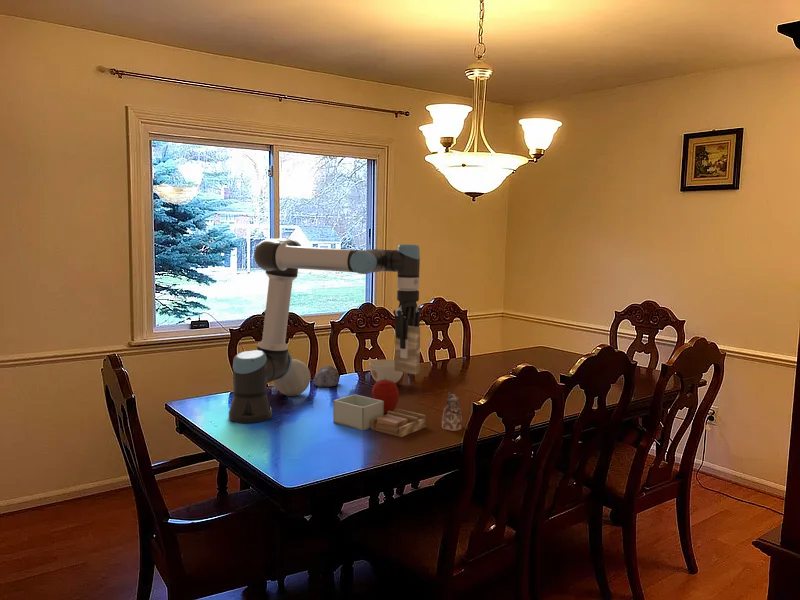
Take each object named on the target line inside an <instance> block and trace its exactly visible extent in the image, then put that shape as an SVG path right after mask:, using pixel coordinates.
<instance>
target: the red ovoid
mask: <svg viewBox="0 0 800 600" xmlns="http://www.w3.org/2000/svg"><path fill="white" fill-rule="evenodd" d="M371 398H373V399H377V400H381V401H384V415H387V411H392V412H395V409H396V408H397V406H398V404H399V401H400V400H399V399H400V390H399V387H398V386H397V384H396V383H394V382H393V381H390V380H386V377H385V380H380V381H377V382H376V381H375V383H374V384H373V386H372V390H371Z"/></svg>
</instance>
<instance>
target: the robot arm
mask: <svg viewBox="0 0 800 600" xmlns="http://www.w3.org/2000/svg"><path fill="white" fill-rule="evenodd" d="M420 250H421V249H420V246H419V245H418V244H406V243H405V244H404V243H403V244H398V246H397V249H381V248H380V249H377V248H371V249H364V250H363V249H350V248H349V249H348V248H344V249H343V248H330V247H313V246H312V247H311V246H302V244H301V243H300V242H298V241H297V240H295V239H292V238H285V237H284V238H267V239H264V240H261V241H260V242H259V243H258V244H257V245H256V247H255V249H254V252H253V257H254V262H255V263H256V264H257V266H258V267H259V269H261V270H264V271H265V275H266V276H267V277H268V285H267V286H268V287H267V294H266V301H265V302H266V303H265V304H266V305H265V311H264V321H263V330H262V336H261V338H262V340H260V341H259V342H258V343H257V348H256V350H255V349H253V350H252V349H251V350H247V351H242V352H239V353H237V354H236V355H235V356H234V357H233V361H232V362H233V363H232V373H233V374H232V376H233V377H232V379H233V380H232V383H233V397H232V401H231V403H230V404H231V405H230V409H229V411H228V419H229V420H230V421H231V422H235V423H239V424H240V423H241V424H252V423H253V424H255V423H260V422H265V421H267V420H269V419H271V418H272V416H273V410H272V407H271V403H270V401H269V398H268V395H267V393H268V392H267V391H268V390H267V389H268V388H267V386H268V385H267V384H268V383H269V384H270V383H271V382H274V380H278V379H280V378H282V377H283V376H285V375H286V374H287V373H288V372H289V371H290V369H291V366H292V359H293V358H292V355H291V353H290V351H289V346H288V344H287V343H286V340H287V329H288V320H289V314H290V305H291V297H292V290H293V289H292V288H293V281H294V280H296V278H298V272H299V269H300V270H314V271H328V272H329V271H330V272H344V273H346V272H347V273H355V274H358V275H369V274H372V273H379V272H380V273H381V272H390V273H391V272H392V273H393V272H394V273H395V272H396V273H397V275H396V276H397V280H396V281H397V282H396V283H397V285H396V289H398V290H397V291H396V300H397V302H399V305H398V307H397V309H393V312H392V313H393V316H394V332H395V331H396V338H398V339H400V348H401V353H400V357H401V358H406V359H407V358H408V339H407V330H408V326H414V327H420V325H421V324H420V322H421V314H422V313H421V312H422V311H423V310H422V309H423V307H420V306H418V303H417V302H418V301H420V291H419V289H420V267H421V253H420V252H421V251H420Z"/></svg>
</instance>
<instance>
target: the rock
mask: <svg viewBox="0 0 800 600" xmlns="http://www.w3.org/2000/svg"><path fill="white" fill-rule="evenodd" d="M312 381H313V383H314V386H317V387H319V388H324V387H326V388H327V387H328V388H329V387H335V386H337V385H338V384H339V382H340V375H339V372H338V369H337V368H334V367H333V366H331V365H328V366H324V367H321V368H320V369H319V370H317V372H315V375H314V377H313V379H312Z"/></svg>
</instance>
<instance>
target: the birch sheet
mask: <svg viewBox="0 0 800 600" xmlns="http://www.w3.org/2000/svg"><path fill="white" fill-rule="evenodd" d="M407 339H408V358H407V359H406V358H401V357H400V353H401V348H400V339H398V338H396V331H395V330H394V360H395V369H394V370H395V371H400V372H403V373H406V374H411V375H417V374H420V365H421V364H420V363H421V362H420V358H421V355H420V354H421V327H420V326H419V327H414V326H408V330H407Z"/></svg>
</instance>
